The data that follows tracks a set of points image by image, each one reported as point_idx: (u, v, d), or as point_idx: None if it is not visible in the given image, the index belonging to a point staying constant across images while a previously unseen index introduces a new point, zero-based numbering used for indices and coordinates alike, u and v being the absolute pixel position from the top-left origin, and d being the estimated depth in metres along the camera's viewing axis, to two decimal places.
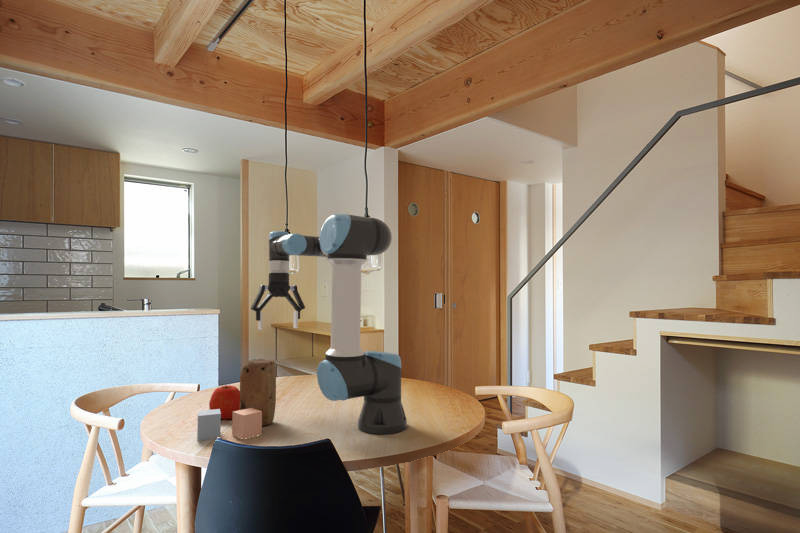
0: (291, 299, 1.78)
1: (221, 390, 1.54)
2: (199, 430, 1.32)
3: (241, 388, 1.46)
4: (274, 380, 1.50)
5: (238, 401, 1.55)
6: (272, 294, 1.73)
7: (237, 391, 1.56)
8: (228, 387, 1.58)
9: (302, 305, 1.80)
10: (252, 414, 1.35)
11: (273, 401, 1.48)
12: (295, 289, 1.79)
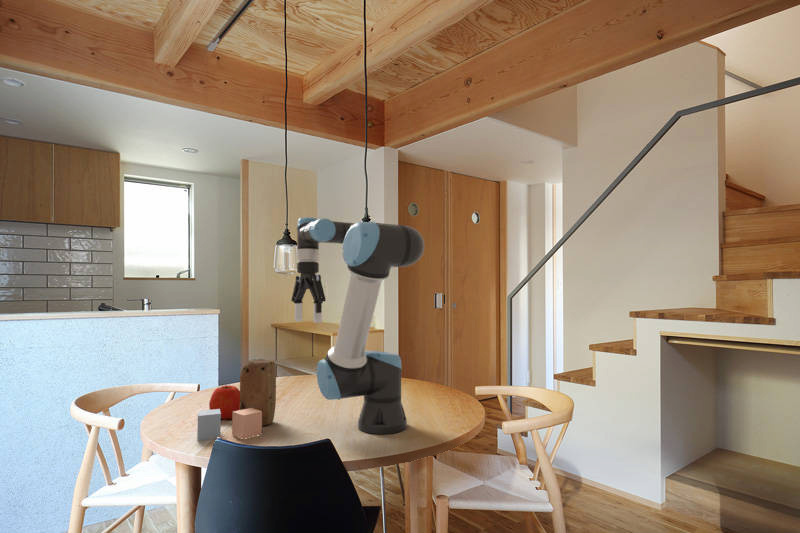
0: (311, 290, 1.60)
1: (221, 390, 1.54)
2: (199, 430, 1.32)
3: (241, 388, 1.46)
4: (274, 380, 1.50)
5: (238, 401, 1.55)
6: (299, 285, 1.66)
7: (237, 391, 1.56)
8: (228, 387, 1.59)
9: (317, 297, 1.57)
10: (252, 414, 1.35)
11: (273, 401, 1.48)
12: (313, 279, 1.59)
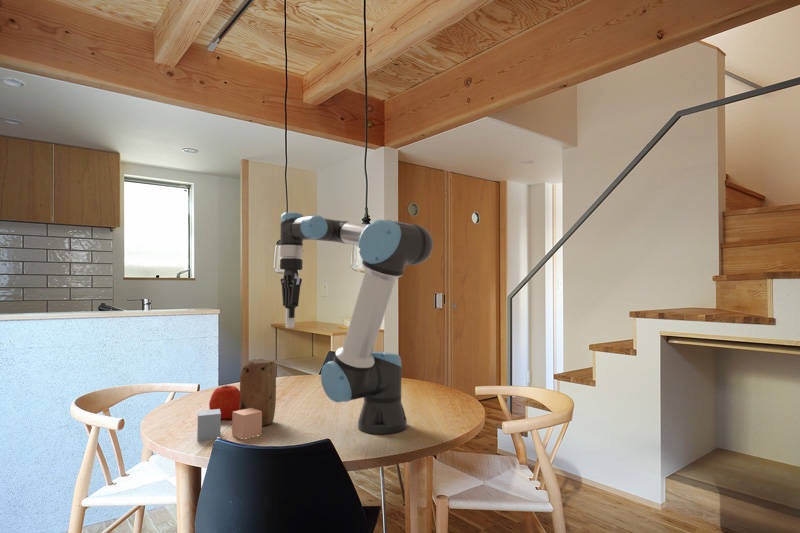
0: (288, 291, 1.58)
1: (221, 390, 1.54)
2: (199, 430, 1.32)
3: (241, 388, 1.46)
4: (274, 380, 1.50)
5: (238, 401, 1.55)
6: (284, 284, 1.60)
7: (237, 391, 1.56)
8: (228, 387, 1.58)
9: (290, 302, 1.56)
10: (252, 414, 1.35)
11: (273, 401, 1.48)
12: (293, 282, 1.55)
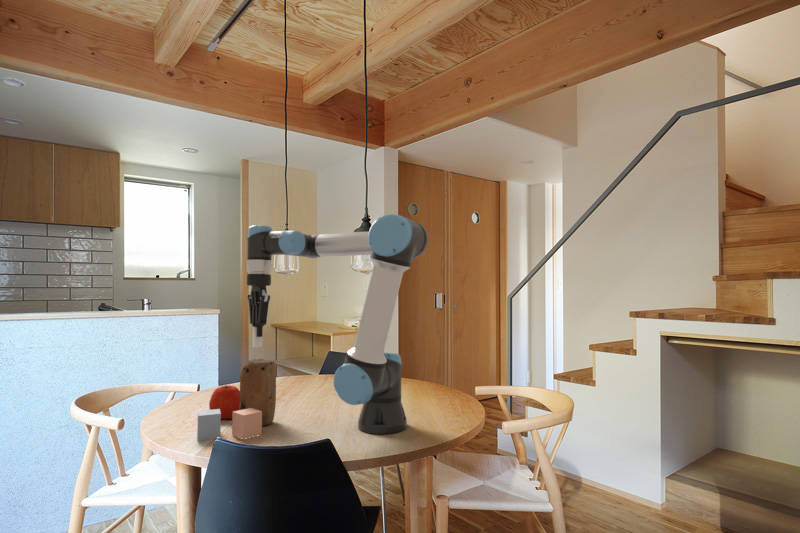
0: (256, 309, 1.49)
1: (221, 390, 1.54)
2: (199, 430, 1.32)
3: (241, 388, 1.46)
4: (274, 380, 1.50)
5: (238, 401, 1.55)
6: (251, 301, 1.51)
7: (237, 391, 1.56)
8: (228, 387, 1.59)
9: (258, 320, 1.47)
10: (252, 414, 1.35)
11: (273, 401, 1.48)
12: (261, 299, 1.46)
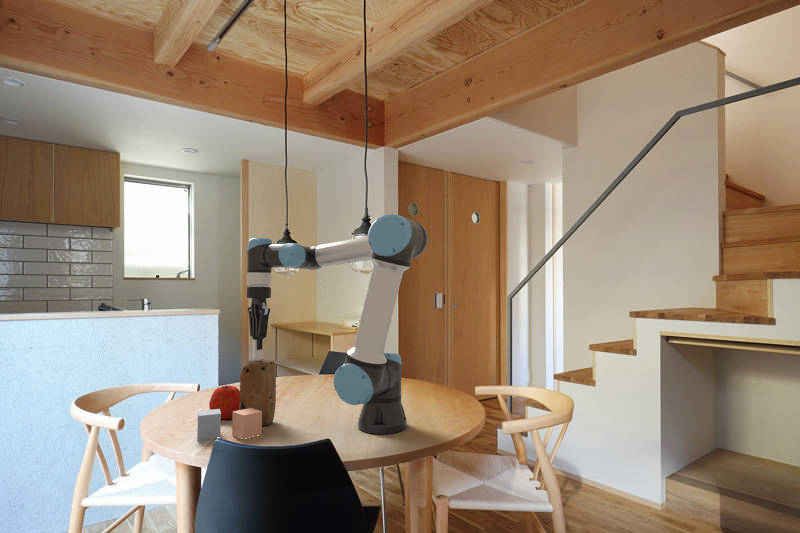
0: (256, 322, 1.49)
1: (221, 390, 1.54)
2: (199, 430, 1.32)
3: (241, 388, 1.46)
4: (274, 380, 1.50)
5: (238, 401, 1.55)
6: (251, 314, 1.51)
7: (237, 391, 1.56)
8: (228, 387, 1.58)
9: (258, 333, 1.47)
10: (252, 414, 1.35)
11: (273, 401, 1.48)
12: (261, 312, 1.46)
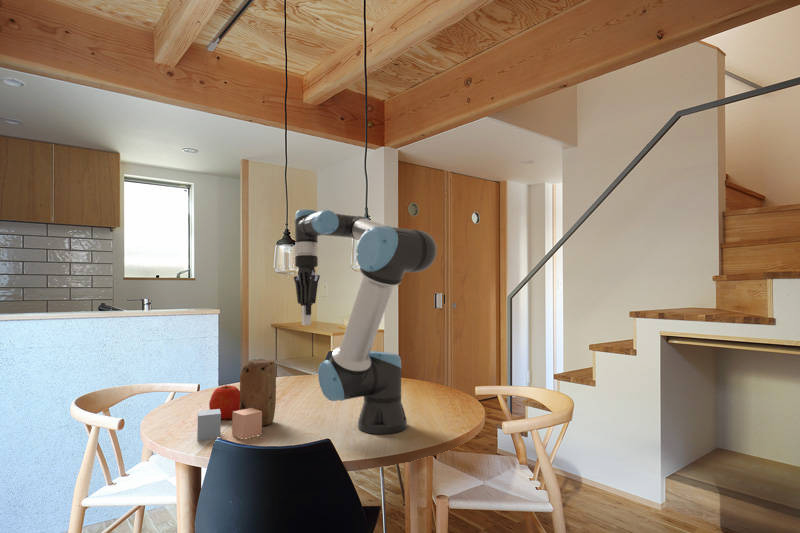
0: (305, 288, 1.57)
1: (221, 390, 1.54)
2: (199, 430, 1.32)
3: (241, 388, 1.46)
4: (274, 380, 1.50)
5: (238, 401, 1.55)
6: (300, 281, 1.59)
7: (237, 391, 1.56)
8: (228, 387, 1.58)
9: (308, 298, 1.56)
10: (252, 414, 1.35)
11: (273, 401, 1.48)
12: (311, 279, 1.55)
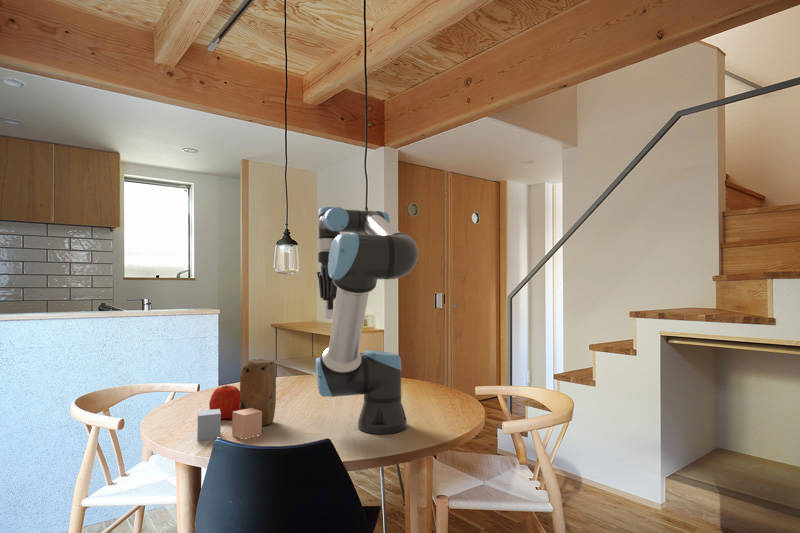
0: (327, 284, 1.62)
1: (221, 390, 1.54)
2: (199, 430, 1.32)
3: (241, 388, 1.46)
4: (274, 380, 1.50)
5: (238, 401, 1.55)
6: (322, 277, 1.64)
7: (237, 391, 1.56)
8: (228, 387, 1.59)
9: (330, 294, 1.60)
10: (252, 414, 1.35)
11: (273, 401, 1.48)
12: None
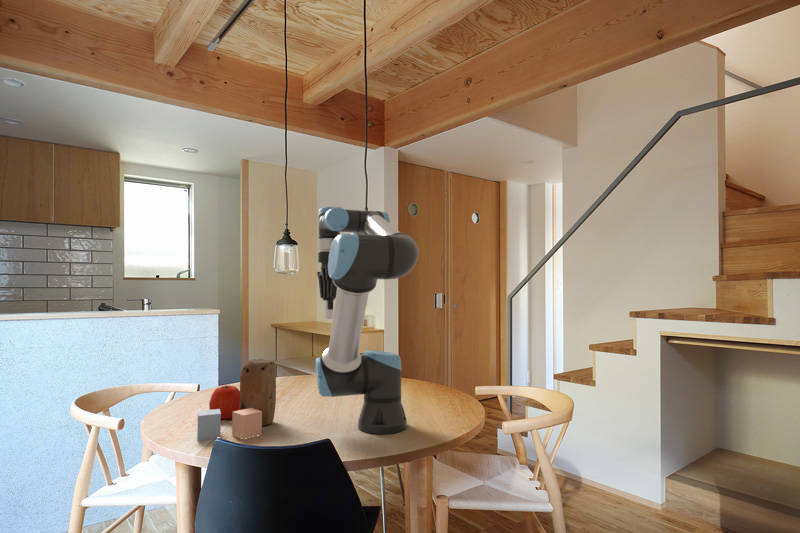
0: (327, 284, 1.62)
1: (221, 390, 1.54)
2: (199, 430, 1.32)
3: (241, 388, 1.46)
4: (274, 380, 1.50)
5: (238, 401, 1.55)
6: (322, 277, 1.64)
7: (237, 391, 1.56)
8: (228, 387, 1.58)
9: (330, 294, 1.60)
10: (252, 414, 1.35)
11: (273, 401, 1.48)
12: None
